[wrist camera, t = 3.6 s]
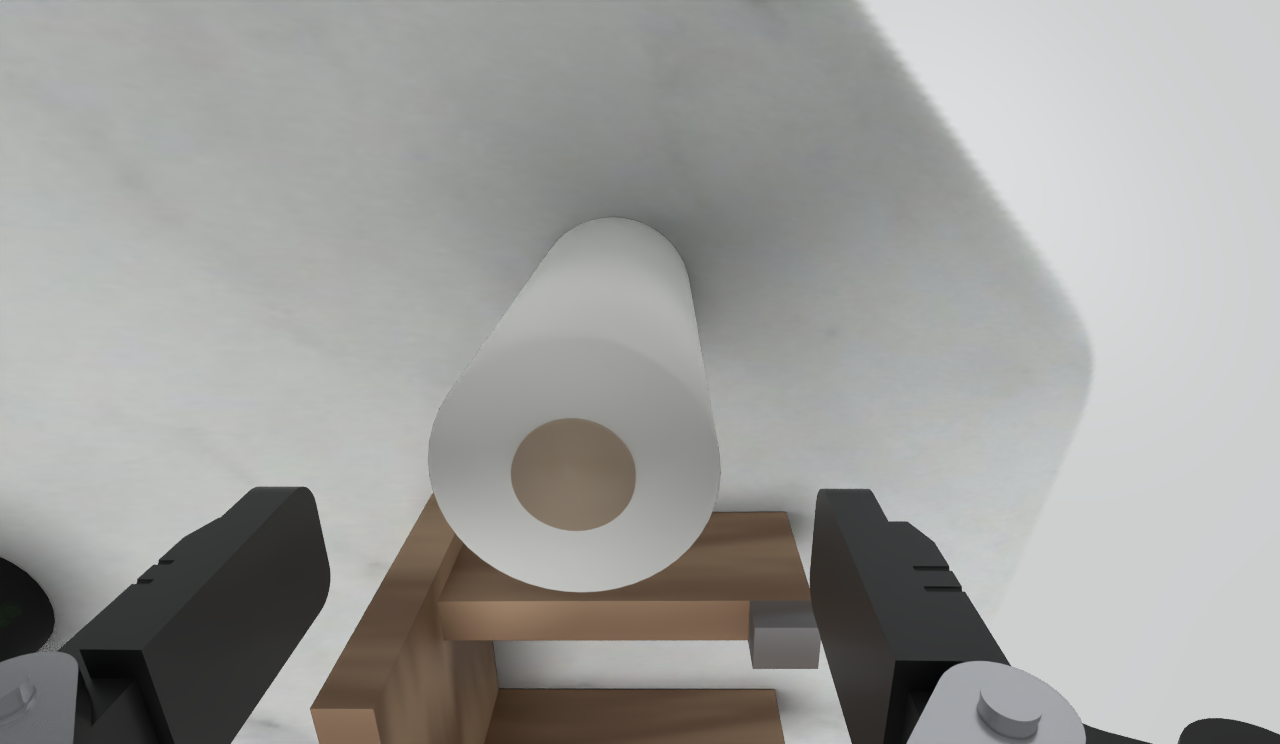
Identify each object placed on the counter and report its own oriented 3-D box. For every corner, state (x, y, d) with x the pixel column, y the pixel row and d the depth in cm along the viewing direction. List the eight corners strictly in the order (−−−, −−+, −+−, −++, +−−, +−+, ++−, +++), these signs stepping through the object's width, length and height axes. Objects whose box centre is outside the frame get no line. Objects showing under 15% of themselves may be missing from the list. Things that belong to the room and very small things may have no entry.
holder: (431, 494, 26) (309, 708, 17) (787, 491, 26) (859, 709, 17) (469, 731, 31) (388, 1001, 22) (771, 732, 31) (821, 1007, 21)
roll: (531, 218, 22) (405, 340, 11) (690, 215, 22) (724, 335, 11) (543, 366, 24) (445, 598, 13) (690, 364, 24) (718, 597, 13)
